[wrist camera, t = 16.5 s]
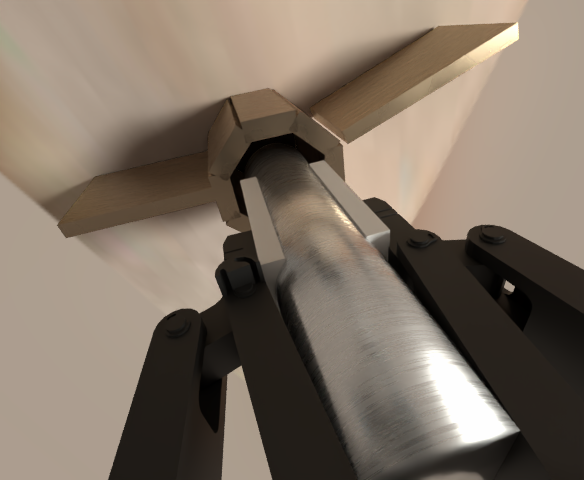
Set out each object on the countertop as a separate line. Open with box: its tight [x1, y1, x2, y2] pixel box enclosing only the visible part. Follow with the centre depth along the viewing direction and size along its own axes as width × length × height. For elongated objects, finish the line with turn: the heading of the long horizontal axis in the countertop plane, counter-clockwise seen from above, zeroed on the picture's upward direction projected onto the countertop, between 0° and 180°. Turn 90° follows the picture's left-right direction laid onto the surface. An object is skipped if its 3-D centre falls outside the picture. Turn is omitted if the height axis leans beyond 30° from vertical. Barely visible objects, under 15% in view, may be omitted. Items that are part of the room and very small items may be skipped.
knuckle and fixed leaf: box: [57, 88, 345, 238], centre depth 19 cm, size 7×15×8 cm, turn 99°
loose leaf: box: [310, 23, 519, 144], centre depth 19 cm, size 10×1×6 cm, turn 119°
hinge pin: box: [244, 143, 520, 480], centre depth 12 cm, size 4×4×15 cm
